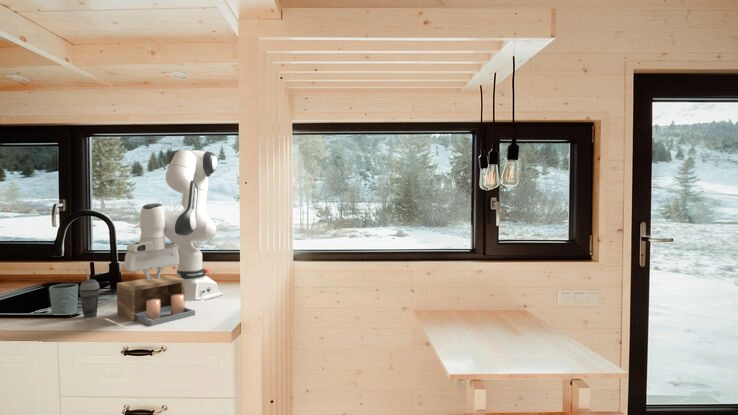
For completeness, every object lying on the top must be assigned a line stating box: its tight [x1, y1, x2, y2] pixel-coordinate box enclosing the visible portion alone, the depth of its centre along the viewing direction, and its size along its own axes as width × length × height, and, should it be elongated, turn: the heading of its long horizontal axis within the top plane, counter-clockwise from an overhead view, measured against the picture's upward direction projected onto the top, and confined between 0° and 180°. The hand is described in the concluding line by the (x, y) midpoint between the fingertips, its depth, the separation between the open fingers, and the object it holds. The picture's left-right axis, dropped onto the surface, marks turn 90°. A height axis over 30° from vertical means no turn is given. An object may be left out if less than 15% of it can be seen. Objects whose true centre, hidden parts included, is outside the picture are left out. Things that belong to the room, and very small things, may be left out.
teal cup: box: [48, 283, 79, 315], centre depth 180 cm, size 10×10×12 cm
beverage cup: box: [78, 268, 101, 319], centre depth 176 cm, size 7×7×20 cm
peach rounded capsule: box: [145, 299, 161, 320], centre depth 170 cm, size 5×5×8 cm
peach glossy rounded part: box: [171, 294, 185, 315], centre depth 178 cm, size 5×5×8 cm
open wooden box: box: [116, 274, 186, 322], centre depth 181 cm, size 22×13×14 cm, turn 143°
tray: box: [135, 305, 196, 327], centre depth 175 cm, size 18×15×3 cm
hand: (153, 279), depth 170 cm, fingers closed
